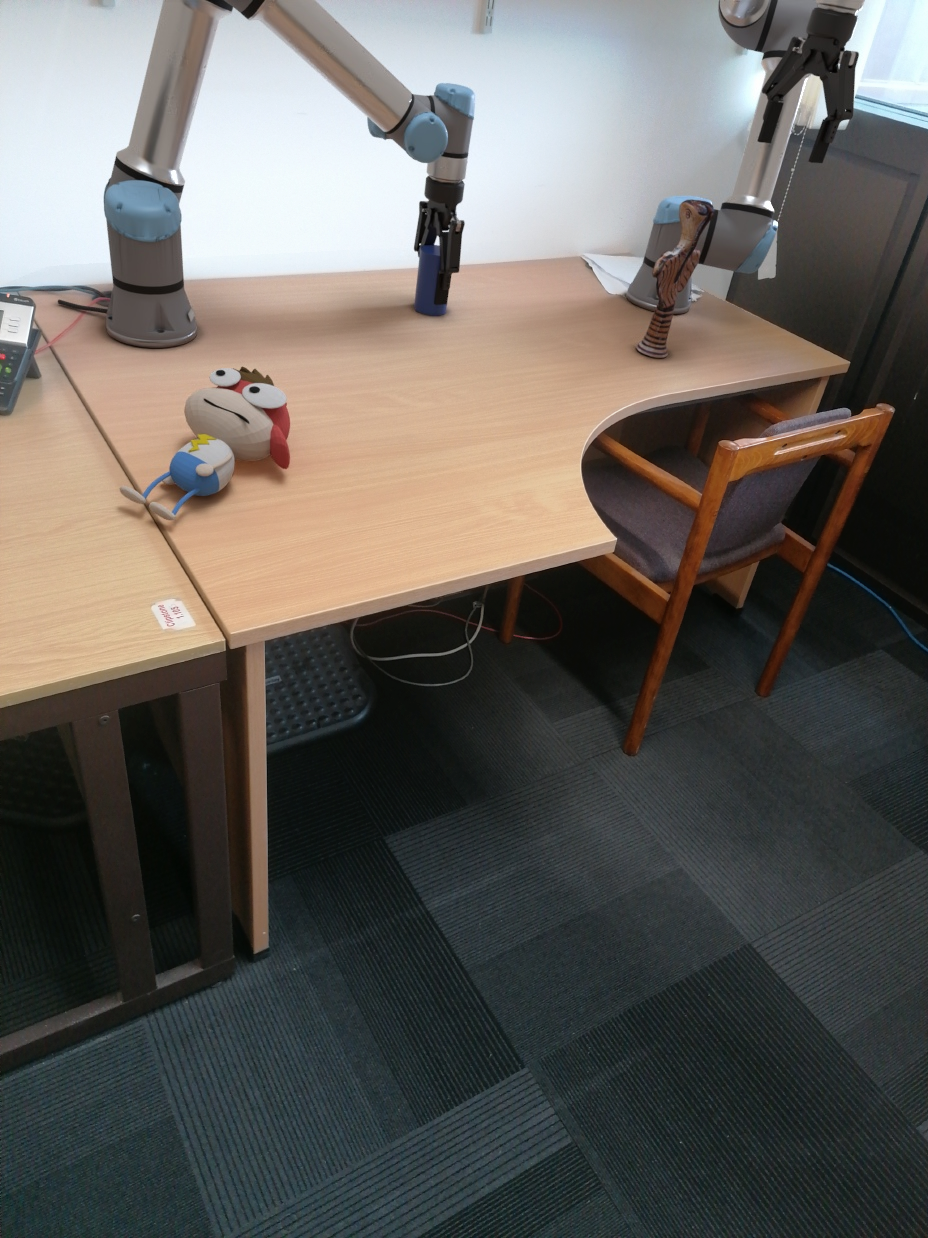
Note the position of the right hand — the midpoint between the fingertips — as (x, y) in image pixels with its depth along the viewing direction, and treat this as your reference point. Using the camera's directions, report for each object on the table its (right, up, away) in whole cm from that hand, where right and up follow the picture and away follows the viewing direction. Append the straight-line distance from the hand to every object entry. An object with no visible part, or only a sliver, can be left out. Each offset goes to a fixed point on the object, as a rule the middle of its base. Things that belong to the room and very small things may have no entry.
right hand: (788, 151), depth 158 cm
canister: (-65, -18, +28) cm, 73 cm away
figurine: (-18, -28, +27) cm, 43 cm away
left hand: (-65, -16, +26) cm, 72 cm away
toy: (-93, -63, -33) cm, 117 cm away
